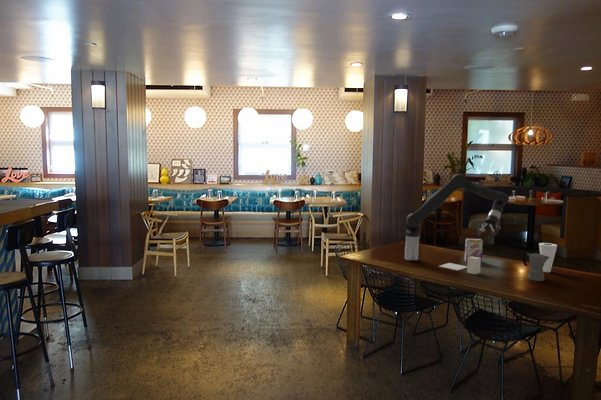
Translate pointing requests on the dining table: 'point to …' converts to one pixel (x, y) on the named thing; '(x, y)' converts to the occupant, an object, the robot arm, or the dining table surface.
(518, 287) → the dining table surface
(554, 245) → the cup
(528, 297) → the dining table surface
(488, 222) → the robot arm
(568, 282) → the dining table surface
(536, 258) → the coffeepot
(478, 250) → the candy bar box
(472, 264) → the beige block
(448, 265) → the mat
